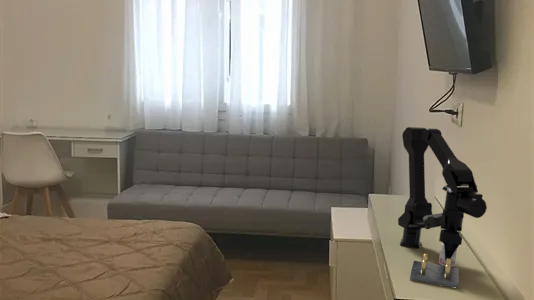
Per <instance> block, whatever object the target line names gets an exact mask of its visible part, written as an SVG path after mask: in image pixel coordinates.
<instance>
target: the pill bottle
mask: <svg viewBox="0 0 534 300" xmlns="http://www.w3.org/2000/svg"><path fill="white" fill-rule="evenodd" d="M440 243H441V245H440V251H439V257H438V263H439V265H442V266H446V260H445V248H444V244H443V243H442V242H440ZM457 251H458V248H457V249H456V251H455V252H454V254H453V255H452V257H451V263H450V266H451V267H455V265H456V260H457V259H456V258H457Z"/></svg>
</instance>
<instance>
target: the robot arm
mask: <svg viewBox="0 0 534 300" xmlns="http://www.w3.org/2000/svg"><path fill="white" fill-rule="evenodd" d="M402 142H403V147H404V149H405V150H406V153H408V177H409V178H408V179H409V186H408V187H409V198H408V200H407V202H406V203H405V206H404V212H403V213H402V214H401V215H400V216H399V217H398V218H397V224H398V226H400V227H402V228H403V230H402V232H403V233H402V238H401V239H400V243H399V246H404V247H409V248H415V249H421V244H422V242H421V235H422V234H421V233H422V229H425V230H430V229H434V228H439V227H440V233H439V239H438V240H439V242H440V243H443V244H444V248H445V260H447V258H451V257H452V255H453V254H454V252H455V251H456V249H457V250H458V248H459V246H461V245H462V242H463V234H462V233H461V232H462V229H463V221H464V218H465V216H464V215H465V214H466V215H468V216H470V217H472V218H476V219H480V218H482V217H483V216H484V215H485V214H486V212H487V207H488V205H487V203H486V201H485V200H484V199H483V194H482V193H478V192H479V191H478V185H477V184H476V181H475V177H474V173H473V171H472V170H471V168H470V167H469V166H468V165H467V164H466V163H465V162H464V161H461V160H459V158H458V157H456V155H455V154H454V152H453V151H452V149H451V148H450V146H449V145H448V142H447V141H446V139H445V138H444V137H443V135H442V132H441V130H440V129H438V128H426V127H415V126H408V127H406V128H405V129H404V130H403V131H402ZM428 148H430V150H432V152H433V155H435V157H436V159H437V160H438V162H439V164H440V165H441V167H442V172H441V174H442V177H443V179H444V181H445V186H443V187H442V188H441V189H442V190H443V191H445V192H446V194H445V199H444V200H445V201H444V208H443V209H442V212H441V213H434V214H433V211H432V210H433V204H432V203H431V202H429V201H428V199H427V198H426V179H425V177H426V176H425V173H426V172H425V171H426V170H425V153H426V152H427V150H428Z"/></svg>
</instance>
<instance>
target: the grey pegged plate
mask: <svg viewBox="0 0 534 300" xmlns="http://www.w3.org/2000/svg"><path fill="white" fill-rule="evenodd" d="M428 257H429V255H428V253H424V254H423V258H422V261H418V260H413V262H412V263H413V264H412V267H411V271H410V276H409V280H410V281H414V282H421V283H426V284H430V285H435V284H436V286H440V285H442V286H441V287H446V288H451V287H456V288H458V289H459V284H460V282H459V281H460V279H459V278H460V268H459V267H454V266H452V267H451V266H450V263H451V258H447V260H446V266H443V265H441V264H436V263H430V262H428ZM456 288H455V289H456Z"/></svg>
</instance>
